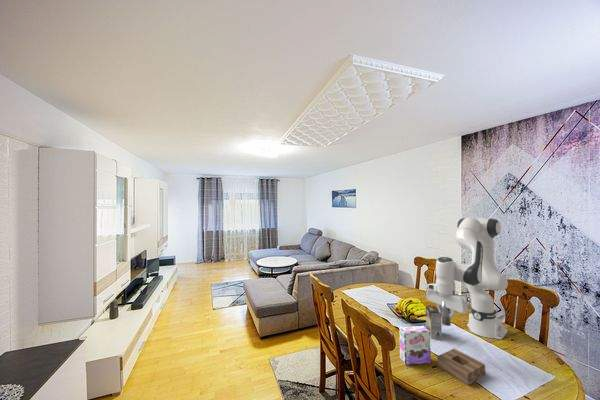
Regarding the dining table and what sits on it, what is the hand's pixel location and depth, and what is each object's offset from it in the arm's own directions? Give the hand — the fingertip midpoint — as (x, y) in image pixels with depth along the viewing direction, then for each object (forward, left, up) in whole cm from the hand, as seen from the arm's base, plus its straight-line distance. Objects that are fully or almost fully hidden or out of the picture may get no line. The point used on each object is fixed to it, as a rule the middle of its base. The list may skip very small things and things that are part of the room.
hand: (446, 315), depth 124 cm
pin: (0, 0, -5) cm, 5 cm away
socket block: (+4, +9, -22) cm, 24 cm away
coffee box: (-14, -17, -22) cm, 31 cm away
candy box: (+17, -6, -22) cm, 29 cm away
